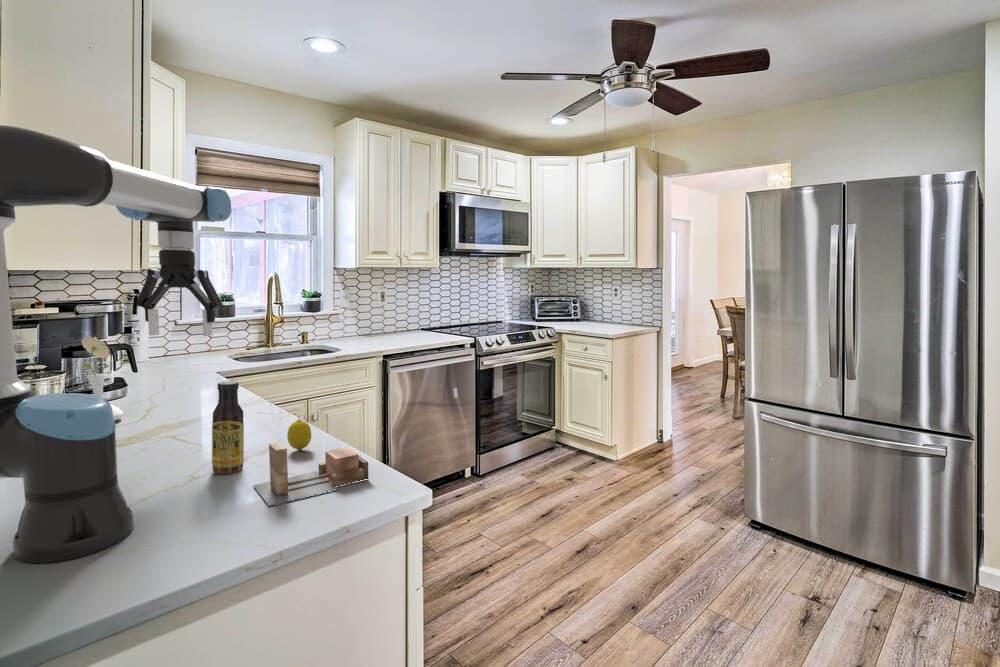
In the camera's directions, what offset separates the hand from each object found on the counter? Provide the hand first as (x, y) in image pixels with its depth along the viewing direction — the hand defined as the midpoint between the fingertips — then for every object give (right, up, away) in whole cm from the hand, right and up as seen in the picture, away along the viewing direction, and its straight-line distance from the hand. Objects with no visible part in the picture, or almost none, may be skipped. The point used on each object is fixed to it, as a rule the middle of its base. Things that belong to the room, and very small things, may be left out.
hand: (181, 335), depth 131 cm
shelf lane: (+41, -31, -22) cm, 56 cm away
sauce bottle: (+20, -30, -15) cm, 39 cm away
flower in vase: (-37, -25, +21) cm, 49 cm away
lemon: (+31, -29, -2) cm, 42 cm away
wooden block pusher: (+42, -30, -22) cm, 56 cm away
